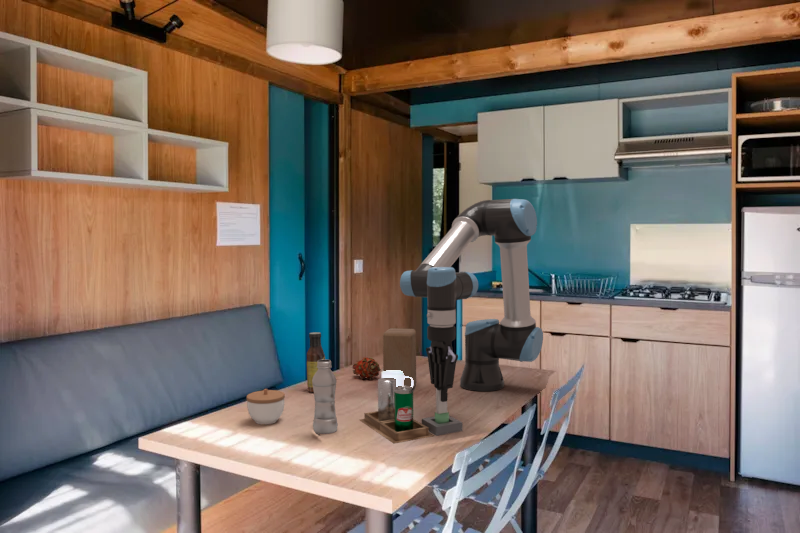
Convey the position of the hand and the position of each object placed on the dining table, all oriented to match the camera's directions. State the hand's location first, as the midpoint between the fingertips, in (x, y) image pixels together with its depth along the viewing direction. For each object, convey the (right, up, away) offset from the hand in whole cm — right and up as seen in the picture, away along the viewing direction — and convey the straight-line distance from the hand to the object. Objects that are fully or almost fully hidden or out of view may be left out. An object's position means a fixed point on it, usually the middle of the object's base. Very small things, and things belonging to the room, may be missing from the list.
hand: (441, 412), depth 165 cm
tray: (-12, -6, +2) cm, 14 cm away
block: (-11, -3, +49) cm, 50 cm away
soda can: (-10, -5, -3) cm, 12 cm away
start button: (0, -4, 0) cm, 4 cm away
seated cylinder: (-15, -4, +6) cm, 17 cm away
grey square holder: (0, -6, 0) cm, 6 cm away
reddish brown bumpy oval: (-24, -2, +62) cm, 67 cm away
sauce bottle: (-40, -4, +45) cm, 60 cm away
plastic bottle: (-31, -6, 0) cm, 32 cm away
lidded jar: (-50, -6, +12) cm, 51 cm away
